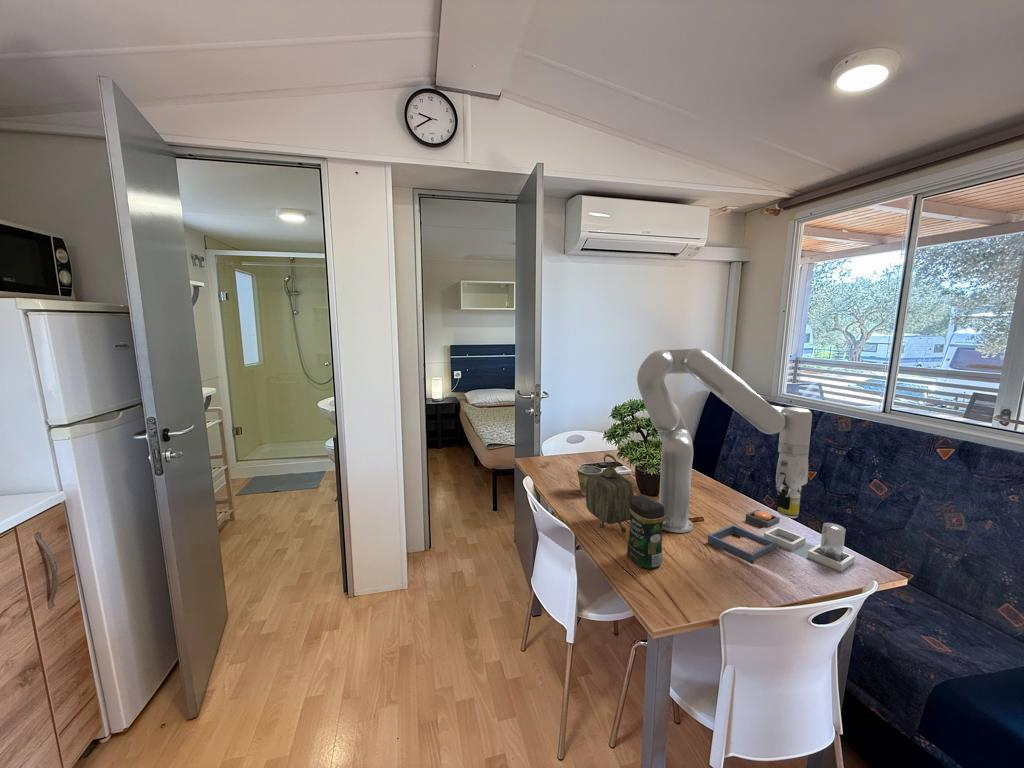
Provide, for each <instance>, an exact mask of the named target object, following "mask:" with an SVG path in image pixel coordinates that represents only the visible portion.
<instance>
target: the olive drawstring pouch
mask: <svg viewBox="0 0 1024 768" xmlns="http://www.w3.org/2000/svg"><path fill="white" fill-rule="evenodd" d="M607 457H609V458H611V459H612V460H613V461H614V463H615V466H612V463H611V462H610V463H607V462H606V458H607ZM603 462H604V464H605V465H606V468H605V469H604V468H603V469H604V470H602V473H597V474H591V475H590V476H589V477H588V479H587V487H586V496H585V502H586V503H585V505H586V510H587V511H588V512H589V513H590V514H592V516H593V517H595V518H596V519H598V520H599V521H601V523H600V524H599V528H600V529H602V530H603V529H604V528H605V524H604V523H606V524H609V525H614V524H617V525H619V527H620V528H621V529H620V531H621V533H623V534H625V533H626V532H627V529H626V528H625V527H623V525H622V523H623V522H626V521H627V522H628V521H630V511H629V506H630V500H631V498H632V497H633V496H634V488H633V483H632V482H631V481H630V479H628V478H626V477H625V476H623V475H621V474H620V473H618V472H617V470H616V468H617V466H618V461H617V459H616V458H615V457H614V456H613V455H611V454H605V455H604V456H603Z"/></svg>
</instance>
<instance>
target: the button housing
mask: <svg viewBox="0 0 1024 768" xmlns="http://www.w3.org/2000/svg"><path fill="white" fill-rule="evenodd" d="M756 511H761V509H760V510H759V509H756V510H753V511H751V512H749V513H746V514H745V519H744V520H745V522H746V523H749V524H752V525H754V526H757V527H759V528H762V529H764V528H770V527H772V526H774V525H776V524H778V523H780V520H781V519H780V517H778V516H776V515H774V514H773V515H772V514H770V513H769V514H770V515H771V520H770V521H768V522H767V521H764V520H762V519H759V518H757V517H754V512H756Z"/></svg>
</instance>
